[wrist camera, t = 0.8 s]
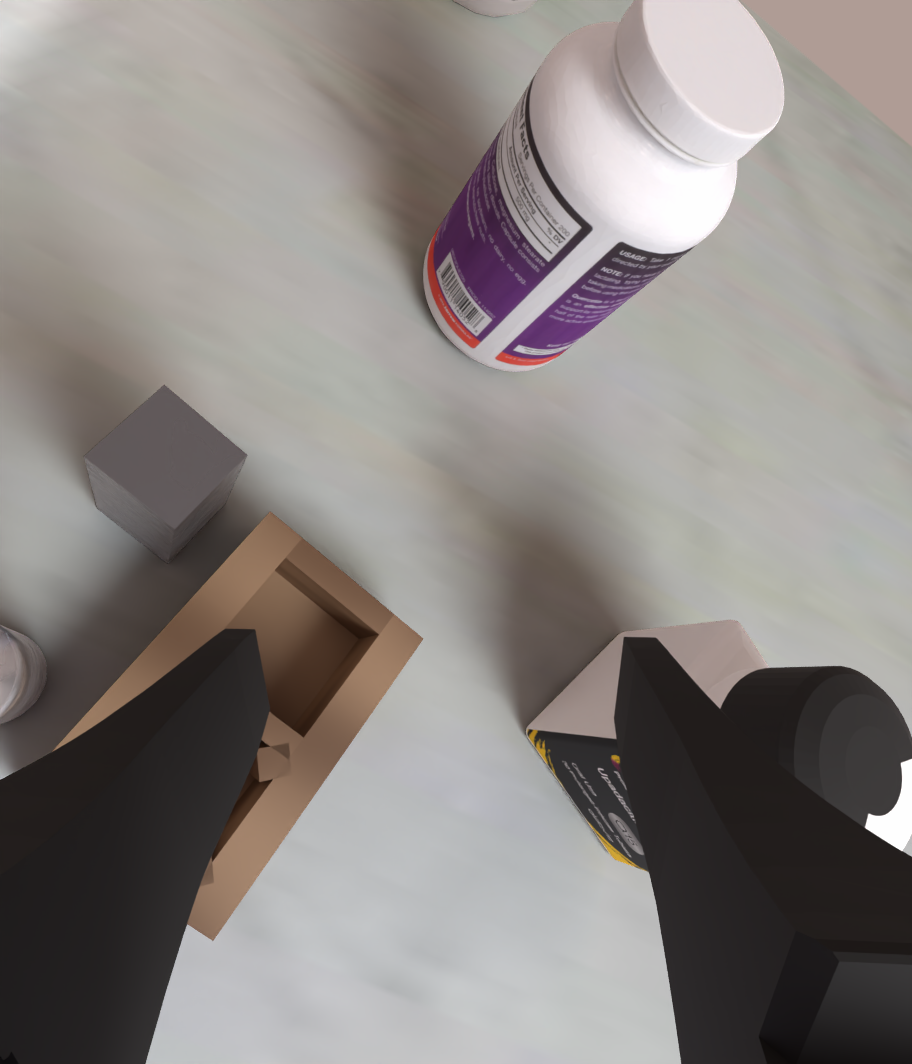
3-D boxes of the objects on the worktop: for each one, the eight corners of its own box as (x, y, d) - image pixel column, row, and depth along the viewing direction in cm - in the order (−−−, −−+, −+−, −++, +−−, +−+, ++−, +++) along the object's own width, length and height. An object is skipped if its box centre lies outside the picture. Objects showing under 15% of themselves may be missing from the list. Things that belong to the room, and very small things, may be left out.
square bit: (167, 563, 24) (175, 529, 18) (97, 508, 23) (83, 455, 18) (224, 503, 25) (247, 455, 20) (159, 450, 24) (164, 385, 19)
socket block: (204, 909, 22) (213, 940, 19) (22, 788, 21) (4, 803, 18) (395, 643, 27) (423, 638, 24) (256, 529, 25) (270, 511, 23)
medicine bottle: (519, 730, 28) (747, 757, 18) (619, 629, 31) (863, 600, 21) (611, 862, 29) (887, 965, 18) (701, 748, 32) (979, 780, 21)
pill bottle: (576, 278, 35) (826, 43, 22) (543, 407, 32) (805, 225, 19) (440, 196, 32) (635, -125, 19) (392, 329, 30) (581, 60, 17)
